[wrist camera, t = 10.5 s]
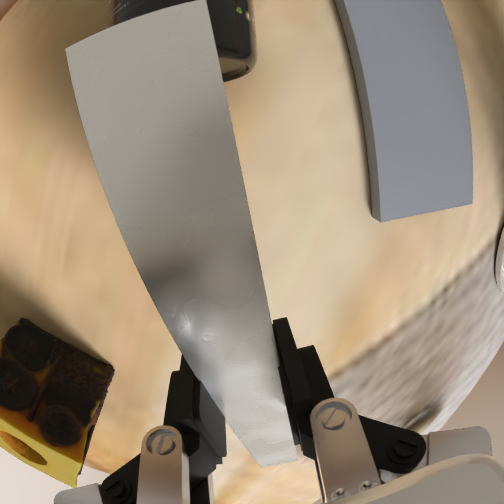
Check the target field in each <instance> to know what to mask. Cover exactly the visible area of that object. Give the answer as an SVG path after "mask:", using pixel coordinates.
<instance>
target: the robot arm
mask: <svg viewBox="0 0 504 504" xmlns="http://www.w3.org/2000/svg"><path fill="white" fill-rule="evenodd" d="M496 281H497V285H498V287H499V289H500V290H501V291H502V292H504V227H503V230H502V233H501V237H500V241H499V245H498V251H497V256H496ZM272 328H273V333H274V338H275V343H276V349H277V354H278V359H279V364H280V367H278V371H279V376H280V381H281V386H282V390H283V395H284V400H285V405H286V410H287V414H288V419H289V423H290V427H291V432H292V436H293V441H294V445H298V444H300V445H301V450H302V451H303V455H304V456H307V457H309V458H311V459H313V460H314V464H315V469H316V474H317V479H318V485H319V490H320V495H321V500H322V504H504V467H503V466H502V465H501V464H500V463H499V462H498V461H497V460H496V459H495V458H493V457H492V446H491V437H490V434H489V432H488V431H487V430H486V429H485V428H483V427H480V426H477V427H476V426H475V427H468V428H462V429H454V430H446V431H437V432H429V434H428V435H420V434H419V433H416V432H414V431H411V430H407V429H403V428H400V427H396V426H393V425H389V424H386V423H383V422H379V421H376V420H373V419H370V418H367V417H364V416H361V415H358V413H357V411H356V409H355V407H354V405H353V404H352V403H350V402H349V401H347V400H345V399H342V398H335V397H334V395H333V392H332V390H331V387H330V385H329V382H328V379H327V377H326V374H325V372H324V369H323V367H322V364H321V362H320V359H319V357H318V354H317V352H316V349H315V347H314V345H311V346H307V347H303V348H299V349H297V347H296V344H295V341H294V338H293V335H292V332H291V329H290V326H289V323H288V320H287V317H285V318H281V319H276V320H273V324H272ZM226 455H227V451H226V428H225V417H224V415H223V414H222V412H221V411H220V409H219V408H218V406H217V405H216V403H215V402H214V400H213V399H212V397H211V396H210V394H209V393H208V391H207V389H206V388H205V386H204V385H203V383H202V382H201V381H199V380H198V379H197V377H196V376H195V374H194V372H193V371H192V369H191V368H190V366H189V364H188V363H187V361H186V359H185V358H184V356H183V354H182V357H181V364H180V370H179V371H173V372H172V374H171V378H170V384H169V390H168V396H167V403H166V410H165V416H164V424H163V425H162V426H157V427H155V428H153V429H151V430H150V431H149V432H147V433H146V435H145V436H144V438H143V441H142V447H141V453H140V454H138V455H137V456H136V457H135V458H133V459H132V460H130V461H129V462H128V463H126V464H125V465H124V466H122V467H121V468H120V469H118V470H117V471H115V472H114V473H113V474H111V475H110V476H109V477H107V478H106V479H105V480H104V481H103V483H102V484H100V485H99V484H98V483H95V484H91V485H87V486H83V487H78V488H74V489H69V490H64V491H61V492H59V493H58V494H57V495H56V496H55V498H54V504H215V501H214V491H213V479H212V472H213V471H214V470H215V469H216V464H222V457H226Z"/></svg>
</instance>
